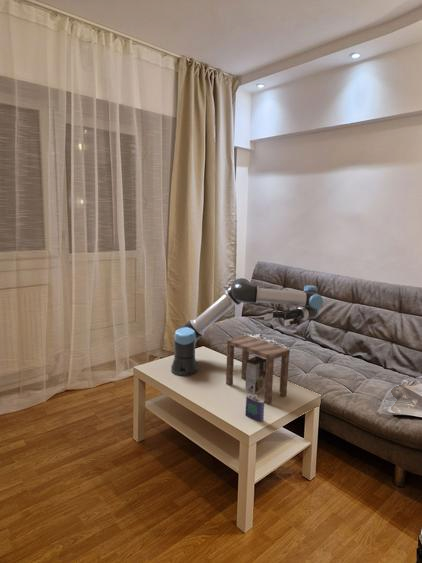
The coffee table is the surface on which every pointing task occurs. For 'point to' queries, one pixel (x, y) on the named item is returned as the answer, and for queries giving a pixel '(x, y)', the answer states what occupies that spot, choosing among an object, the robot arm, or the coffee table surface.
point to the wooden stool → (264, 351)
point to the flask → (254, 408)
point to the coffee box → (255, 375)
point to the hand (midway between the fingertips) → (274, 320)
